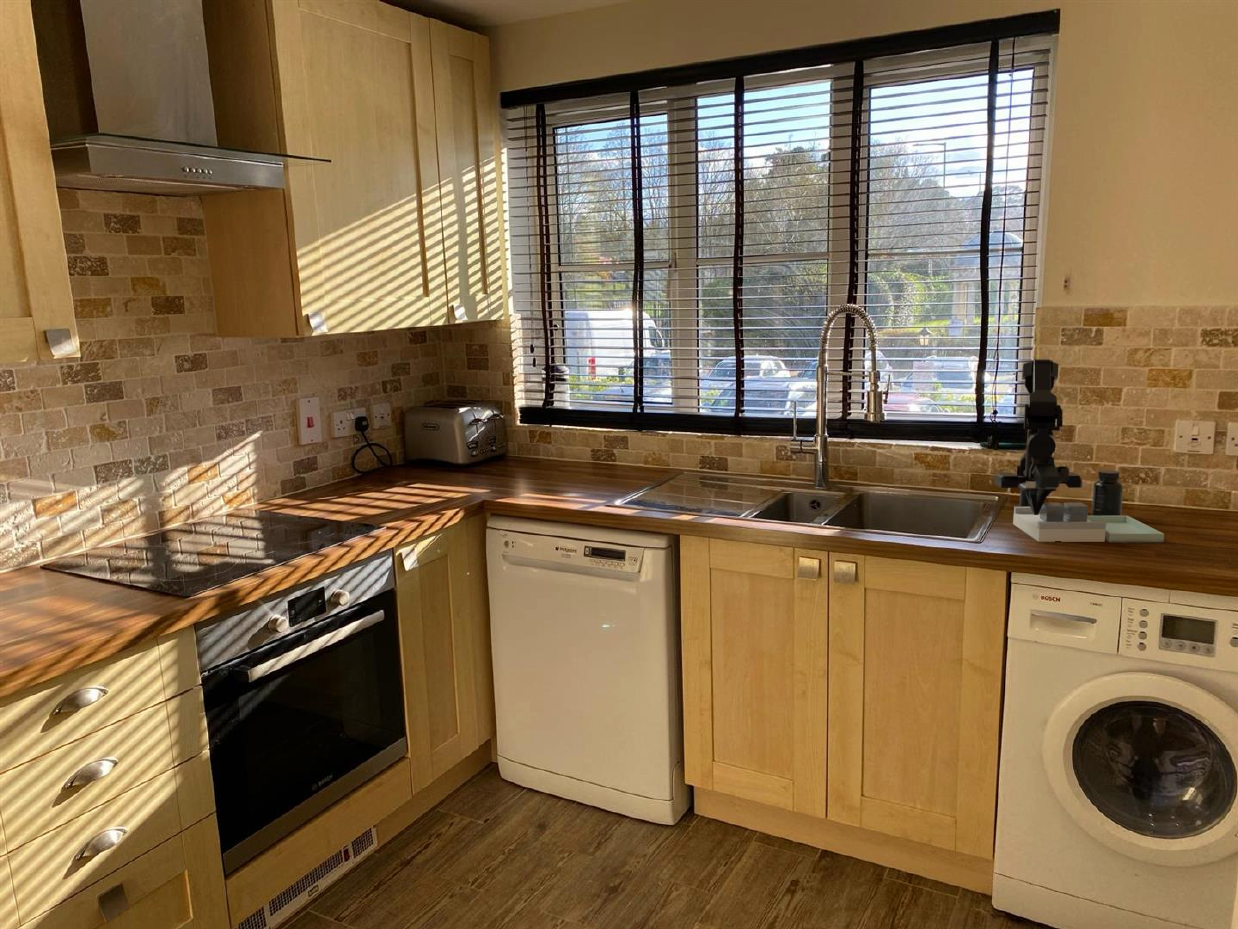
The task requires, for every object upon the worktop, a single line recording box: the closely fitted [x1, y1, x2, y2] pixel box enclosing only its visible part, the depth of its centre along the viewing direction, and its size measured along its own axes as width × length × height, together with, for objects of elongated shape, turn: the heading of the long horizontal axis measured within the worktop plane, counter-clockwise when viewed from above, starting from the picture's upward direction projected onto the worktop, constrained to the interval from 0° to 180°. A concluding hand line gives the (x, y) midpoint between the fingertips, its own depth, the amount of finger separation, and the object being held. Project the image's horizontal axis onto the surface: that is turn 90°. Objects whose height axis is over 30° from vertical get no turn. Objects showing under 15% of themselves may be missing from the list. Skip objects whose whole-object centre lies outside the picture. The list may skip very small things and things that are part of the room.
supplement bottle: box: [1091, 469, 1124, 516], centre depth 236 cm, size 7×7×12 cm
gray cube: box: [1063, 502, 1089, 522], centre depth 221 cm, size 4×4×4 cm
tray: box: [1087, 515, 1165, 543], centre depth 221 cm, size 18×12×2 cm, turn 176°
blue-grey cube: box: [1040, 502, 1064, 522], centre depth 222 cm, size 4×4×4 cm
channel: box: [1012, 506, 1106, 543], centre depth 222 cm, size 17×15×4 cm
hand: (1035, 514), depth 222 cm, fingers closed
